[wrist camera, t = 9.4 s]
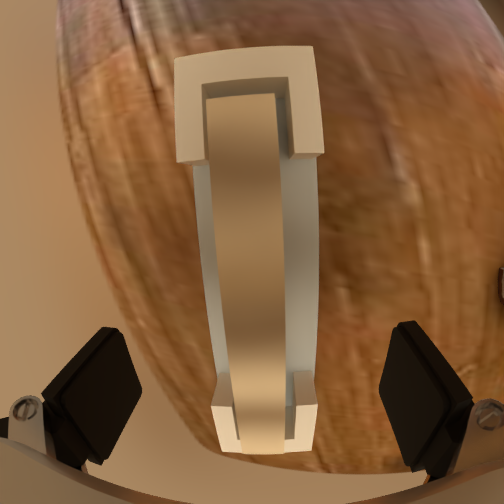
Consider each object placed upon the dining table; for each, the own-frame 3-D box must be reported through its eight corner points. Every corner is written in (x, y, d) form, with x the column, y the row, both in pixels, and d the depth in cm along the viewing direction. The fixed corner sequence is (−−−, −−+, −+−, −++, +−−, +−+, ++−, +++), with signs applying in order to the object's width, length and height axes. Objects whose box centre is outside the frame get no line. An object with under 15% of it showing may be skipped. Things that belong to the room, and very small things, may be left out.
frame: (192, 76, 17) (170, 48, 12) (305, 67, 16) (315, 35, 11) (227, 417, 24) (220, 455, 19) (308, 416, 23) (313, 454, 18)
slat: (226, 124, 17) (206, 99, 11) (273, 121, 16) (274, 93, 11) (248, 401, 22) (242, 453, 16) (282, 400, 22) (284, 453, 16)
